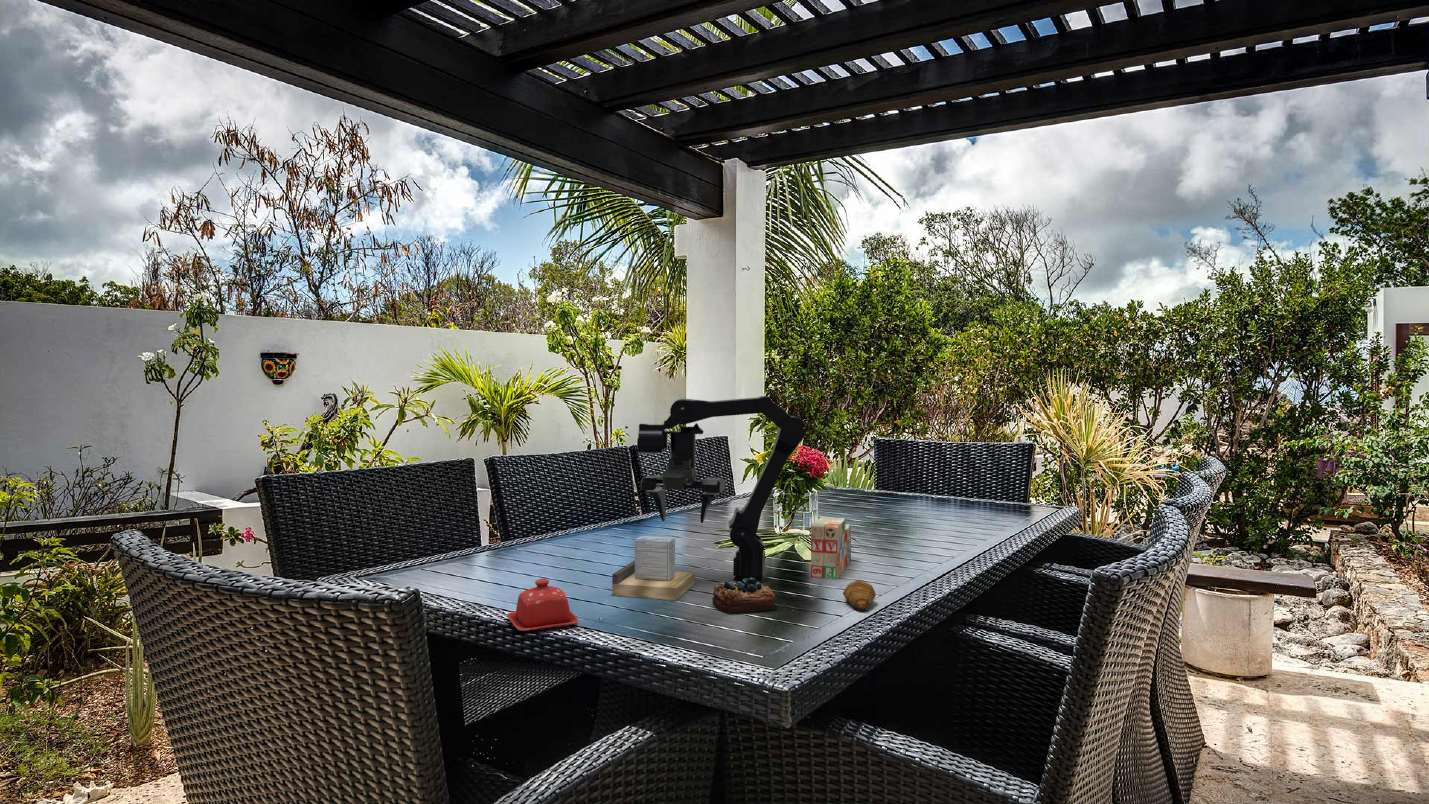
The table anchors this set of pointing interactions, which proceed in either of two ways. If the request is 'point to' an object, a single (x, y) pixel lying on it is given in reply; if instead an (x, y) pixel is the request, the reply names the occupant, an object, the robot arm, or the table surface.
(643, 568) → the medicine box
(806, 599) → the table surface
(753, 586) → the pastry
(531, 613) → the butter dish
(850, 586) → the croissant
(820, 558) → the stack of blocks
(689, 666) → the table surface
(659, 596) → the dock
